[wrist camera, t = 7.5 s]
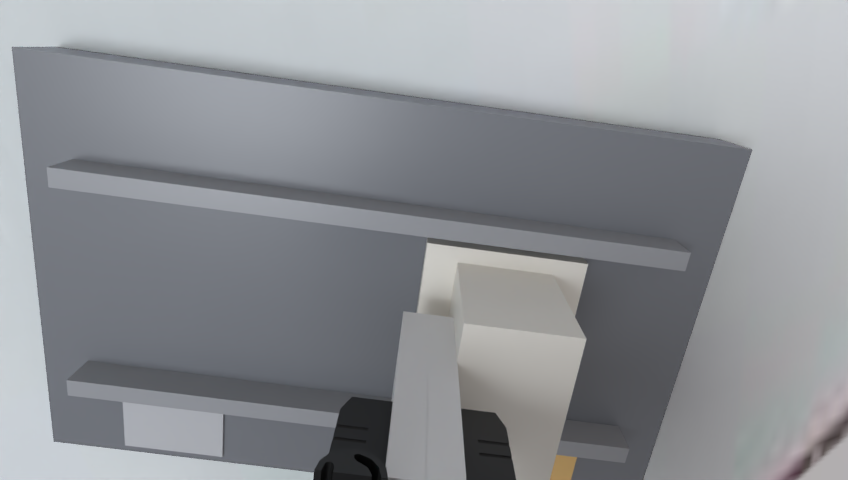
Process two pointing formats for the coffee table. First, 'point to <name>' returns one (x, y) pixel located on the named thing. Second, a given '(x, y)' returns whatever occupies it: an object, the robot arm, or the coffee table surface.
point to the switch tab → (511, 338)
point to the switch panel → (334, 251)
